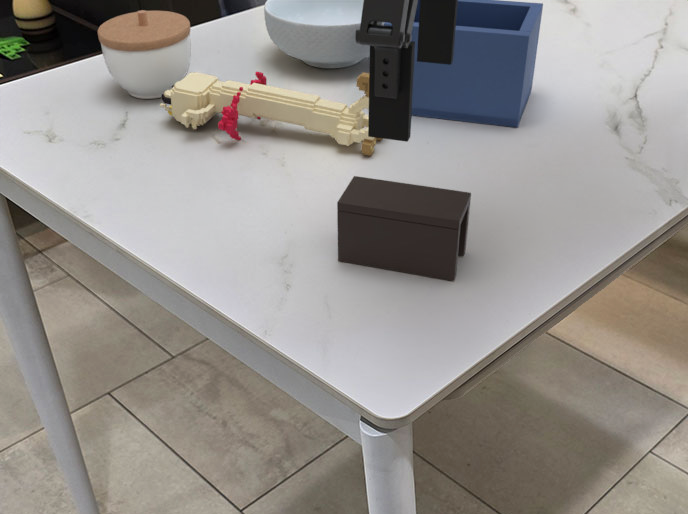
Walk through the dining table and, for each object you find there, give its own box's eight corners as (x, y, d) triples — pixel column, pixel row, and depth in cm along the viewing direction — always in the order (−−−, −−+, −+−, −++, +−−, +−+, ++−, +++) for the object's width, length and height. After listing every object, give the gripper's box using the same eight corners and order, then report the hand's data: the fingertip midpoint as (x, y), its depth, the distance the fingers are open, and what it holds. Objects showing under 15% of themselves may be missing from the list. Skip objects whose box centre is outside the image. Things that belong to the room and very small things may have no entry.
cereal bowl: (425, 52, 109) (428, -4, 104) (339, 95, 100) (338, 36, 95) (327, 24, 118) (326, -28, 114) (240, 61, 109) (235, 5, 105)
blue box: (531, 90, 98) (543, 3, 92) (517, 127, 91) (529, 35, 85) (404, 77, 103) (407, -7, 97) (381, 111, 95) (383, 23, 89)
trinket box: (91, 91, 104) (76, 14, 98) (160, 64, 110) (149, -10, 104) (145, 115, 98) (132, 35, 92) (215, 85, 103) (207, 8, 98)
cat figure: (389, 136, 93) (185, 92, 100) (398, 60, 88) (181, 19, 95) (361, 178, 86) (143, 129, 93) (369, 98, 81) (137, 52, 87)
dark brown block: (465, 251, 73) (471, 192, 69) (454, 281, 69) (459, 221, 66) (353, 233, 76) (353, 175, 72) (337, 261, 73) (336, 202, 69)
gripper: (419, -267, 59) (406, 32, 72) (296, -223, 41) (308, 168, 54) (529, -270, 57) (495, 40, 70) (450, -223, 39) (424, 185, 52)
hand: (413, 96), depth 62 cm, fingers open, 13 cm apart
